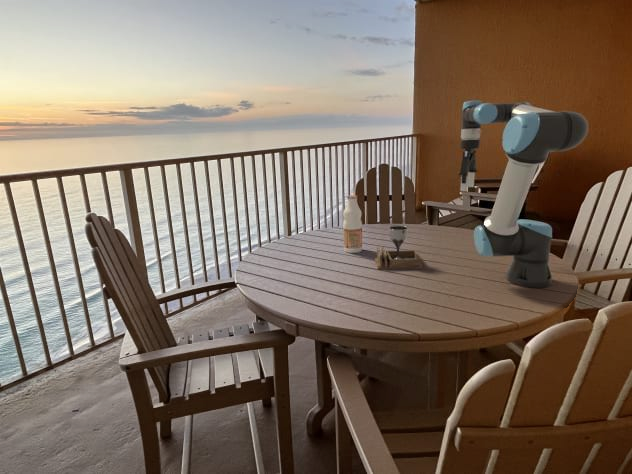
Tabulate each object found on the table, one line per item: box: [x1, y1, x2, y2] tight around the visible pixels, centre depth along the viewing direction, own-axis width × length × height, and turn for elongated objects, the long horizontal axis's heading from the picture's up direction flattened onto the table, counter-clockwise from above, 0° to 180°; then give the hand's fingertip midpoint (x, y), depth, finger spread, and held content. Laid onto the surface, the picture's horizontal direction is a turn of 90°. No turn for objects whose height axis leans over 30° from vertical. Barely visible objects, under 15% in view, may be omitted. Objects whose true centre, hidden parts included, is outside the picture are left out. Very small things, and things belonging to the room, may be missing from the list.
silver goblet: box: [388, 225, 408, 260], centre depth 170 cm, size 8×8×15 cm
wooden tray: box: [374, 246, 423, 270], centre depth 169 cm, size 14×19×6 cm
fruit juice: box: [342, 194, 363, 254], centre depth 189 cm, size 9×9×28 cm
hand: (467, 189), depth 167 cm, fingers open, 13 cm apart
